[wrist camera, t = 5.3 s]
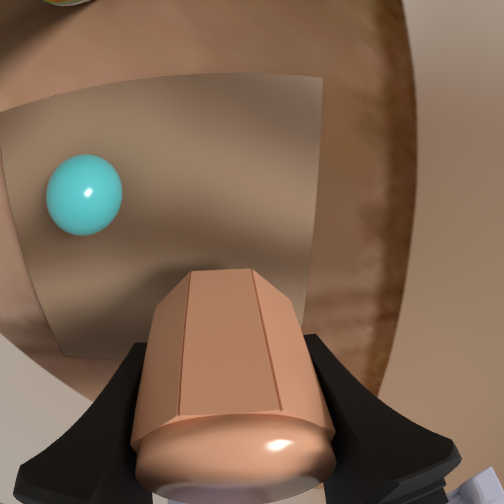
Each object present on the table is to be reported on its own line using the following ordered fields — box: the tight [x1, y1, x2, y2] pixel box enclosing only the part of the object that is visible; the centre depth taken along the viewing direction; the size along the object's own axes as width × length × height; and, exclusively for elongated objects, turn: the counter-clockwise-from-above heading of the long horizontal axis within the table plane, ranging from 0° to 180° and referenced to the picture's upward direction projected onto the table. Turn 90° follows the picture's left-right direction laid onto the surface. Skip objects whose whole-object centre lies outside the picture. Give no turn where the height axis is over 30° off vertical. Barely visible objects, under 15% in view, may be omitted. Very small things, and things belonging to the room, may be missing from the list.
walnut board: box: [0, 73, 323, 360], centre depth 13 cm, size 14×14×1 cm
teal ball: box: [46, 154, 123, 236], centre depth 10 cm, size 3×3×3 cm
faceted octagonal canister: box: [130, 268, 337, 504], centre depth 10 cm, size 6×6×7 cm
